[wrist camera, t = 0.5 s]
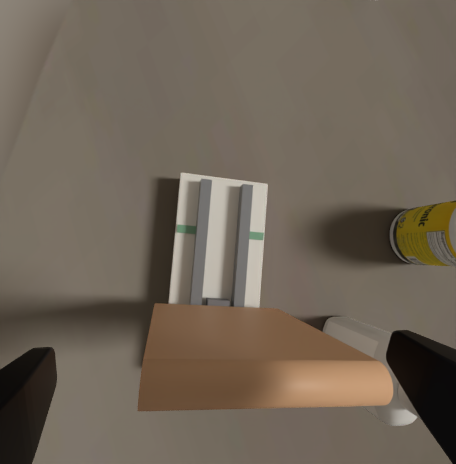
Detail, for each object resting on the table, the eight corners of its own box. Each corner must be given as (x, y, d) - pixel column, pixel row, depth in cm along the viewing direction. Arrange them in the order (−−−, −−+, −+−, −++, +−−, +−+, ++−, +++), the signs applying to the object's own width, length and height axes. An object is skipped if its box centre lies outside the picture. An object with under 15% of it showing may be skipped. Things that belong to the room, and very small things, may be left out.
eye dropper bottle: (302, 364, 26) (412, 457, 14) (330, 307, 27) (456, 350, 15) (341, 387, 27) (478, 492, 15) (368, 330, 28) (517, 388, 16)
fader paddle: (271, 332, 23) (391, 425, 11) (152, 328, 22) (134, 435, 9) (273, 301, 24) (394, 357, 11) (155, 295, 22) (142, 354, 9)
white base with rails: (247, 364, 25) (258, 379, 22) (162, 364, 24) (162, 380, 21) (260, 189, 26) (272, 181, 23) (179, 178, 25) (181, 169, 22)
